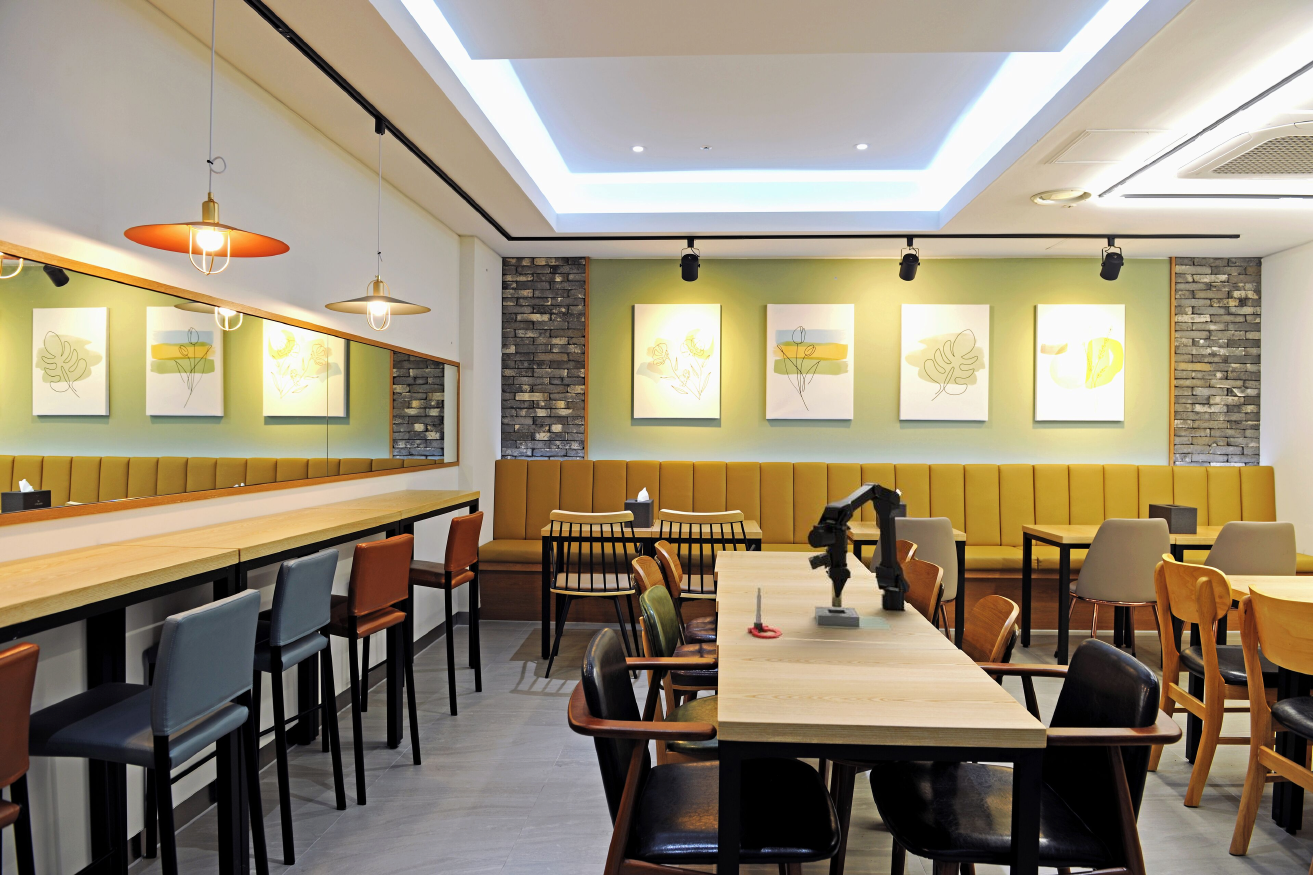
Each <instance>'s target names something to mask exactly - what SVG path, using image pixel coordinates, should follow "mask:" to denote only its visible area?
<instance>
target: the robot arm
mask: <svg viewBox="0 0 1313 875" xmlns="http://www.w3.org/2000/svg"><path fill="white" fill-rule="evenodd" d="M869 501H870V502H872V505H873V510H874V511H875V513H876V515H877V516H878V518H879V519H878V522H879V523H878V524H879V538H880V539H879V540H880V559H881V560H880V562H879V564H878V565H876V566H875V568H874V570H875V571H874V572H875V579H876V583H877V588H878V590H881V591H883V592H882V594H881V601H880V602H881V604H880V605H881V607H882V609H884V611H890V612H891V611H892V612H894V611H895V612H907V611H906V608H905V594H908V593H909V592H910V588H911V585H910V584H909V582H908V580H907V579H906V578H905V575H904V570H903V567H902V565H901V563H899V560H898V554H897V553H898V550H897V531H896V515H897V514H898V512H899V511H900V507H901V506H900V505H901V496H900V493H899V492H898V491H896V490H892V489H889V488H887V487H884V486H882V485H881V484H878V483H874V482H866V483H863V485H862V486H860V487H859V488H858V489H856V490H855V491H853V492H852V493H851V494H849V495H848V496H847V497H845V498H844V499H842V500H838V501H837V500H836V501H833V502H830V503H828V504H826V505H825V507H824V508H823V512H822V514H821V516H820V518H819V520H818V521H817V524H814V525H812V529H811V530H810V531H809V532H808V534H807V542H808V544H809V545H810V547H812V548H813V549H821V548H825V552H823V553H819V554H816V555H813V556H809V557H808V558H807V559H808V561H809V565H810V566H811V567H810V568H811V570H817V569H818V568H821V567H824V569H825V573H826V574H827V577H828V578H829V579H830V580H831V582H832V581H833V586H834V592H835V597H836V598H839V597H840V595H841V592H842V593H843V590H844V588H845V586H846V583H847V582H848V580H849V579H851V570H850V569H849V568H848V562H847V554H848V549H847V543H848V542H847V531H851V530H852V528H851V526H850V525H848V523H849V522H850V520H851V519H853V517H854V513H855V512H856V511H857V510H858V509H860V508H862V507H863V505H865V504H867V503H868V502H869ZM827 569H828V570H827Z"/></svg>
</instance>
